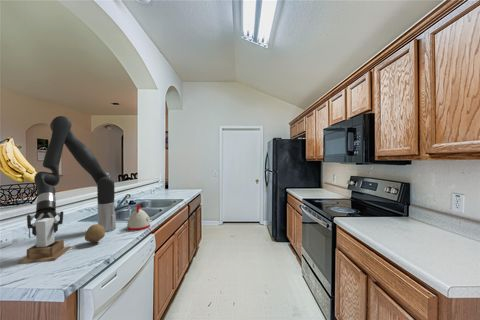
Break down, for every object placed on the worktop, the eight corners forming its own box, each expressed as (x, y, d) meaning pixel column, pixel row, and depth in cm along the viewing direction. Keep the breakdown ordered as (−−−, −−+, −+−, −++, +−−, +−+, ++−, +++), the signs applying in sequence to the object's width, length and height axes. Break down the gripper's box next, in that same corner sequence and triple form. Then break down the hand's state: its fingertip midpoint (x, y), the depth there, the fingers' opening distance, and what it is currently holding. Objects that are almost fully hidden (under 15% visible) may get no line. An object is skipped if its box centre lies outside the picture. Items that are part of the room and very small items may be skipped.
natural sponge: (109, 241, 128) (109, 223, 128) (94, 247, 120) (93, 227, 120) (97, 239, 132) (97, 221, 131) (82, 244, 123) (81, 225, 123)
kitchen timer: (124, 231, 145) (124, 207, 144) (129, 225, 158) (129, 203, 158) (148, 229, 148) (148, 206, 147) (151, 223, 161) (151, 202, 161)
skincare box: (45, 242, 113) (45, 217, 113) (54, 242, 113) (54, 217, 113) (35, 247, 107) (35, 221, 107) (45, 247, 107) (45, 221, 107)
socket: (70, 248, 119) (70, 238, 119) (55, 260, 105) (54, 249, 105) (38, 250, 116) (38, 240, 116) (18, 263, 102) (18, 252, 102)
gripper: (26, 201, 111) (23, 232, 102) (64, 198, 120) (64, 226, 111) (27, 210, 116) (25, 240, 107) (64, 206, 124) (64, 234, 115)
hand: (45, 233), depth 109 cm, fingers closed on skincare box, 6 cm apart
